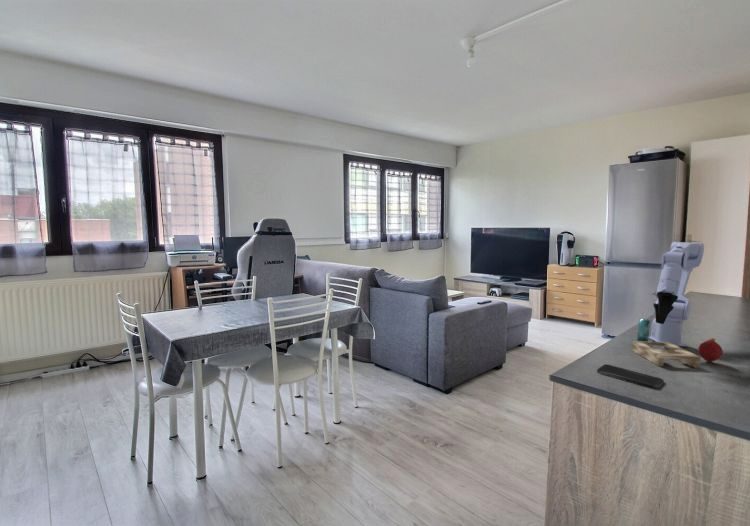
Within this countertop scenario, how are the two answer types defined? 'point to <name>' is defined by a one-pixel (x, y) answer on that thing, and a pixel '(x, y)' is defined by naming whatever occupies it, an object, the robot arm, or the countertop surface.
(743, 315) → the countertop surface
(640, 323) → the peg
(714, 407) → the countertop surface
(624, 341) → the countertop surface
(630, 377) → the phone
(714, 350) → the onion
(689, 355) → the beige wooden frame
